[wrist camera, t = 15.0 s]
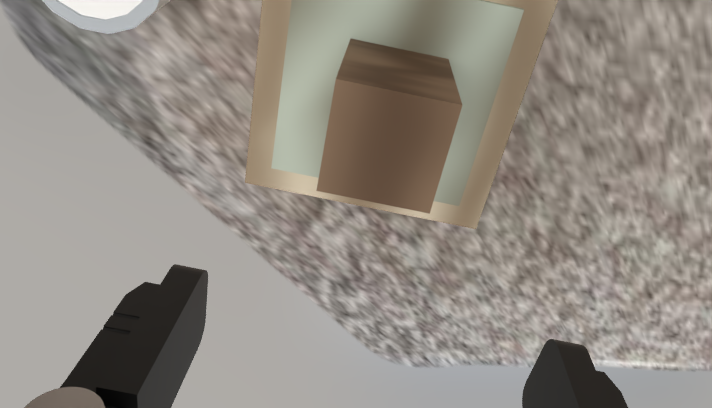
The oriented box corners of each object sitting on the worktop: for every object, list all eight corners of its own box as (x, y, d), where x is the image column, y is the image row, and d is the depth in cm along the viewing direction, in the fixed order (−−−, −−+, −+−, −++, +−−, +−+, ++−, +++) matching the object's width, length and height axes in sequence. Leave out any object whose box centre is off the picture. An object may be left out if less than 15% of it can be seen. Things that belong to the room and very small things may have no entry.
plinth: (544, -28, 29) (566, -17, 25) (468, 197, 35) (476, 232, 32) (286, -84, 28) (268, -81, 24) (260, 154, 35) (243, 185, 31)
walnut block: (448, 58, 27) (462, 105, 21) (423, 148, 29) (429, 213, 23) (350, 38, 27) (335, 78, 21) (333, 130, 29) (316, 190, 23)
